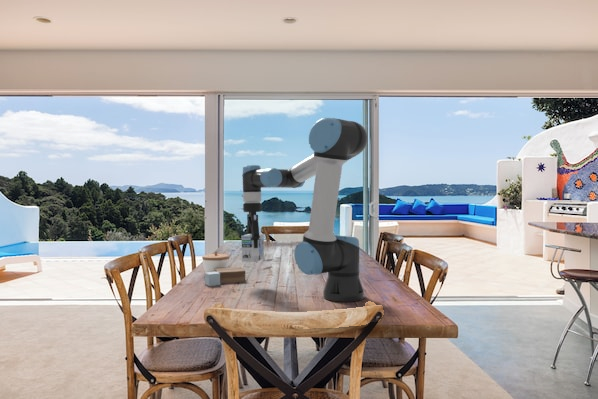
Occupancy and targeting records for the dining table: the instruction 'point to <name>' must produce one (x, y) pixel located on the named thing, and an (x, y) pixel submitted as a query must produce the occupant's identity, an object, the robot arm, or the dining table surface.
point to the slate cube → (212, 278)
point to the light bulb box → (248, 248)
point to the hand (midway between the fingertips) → (253, 254)
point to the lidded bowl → (215, 261)
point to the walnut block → (231, 274)
